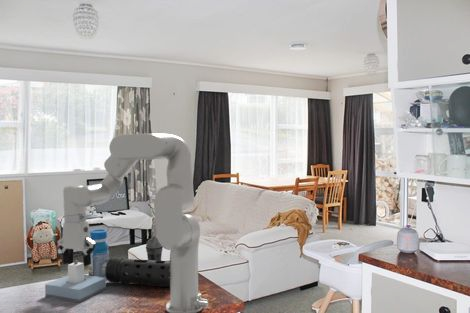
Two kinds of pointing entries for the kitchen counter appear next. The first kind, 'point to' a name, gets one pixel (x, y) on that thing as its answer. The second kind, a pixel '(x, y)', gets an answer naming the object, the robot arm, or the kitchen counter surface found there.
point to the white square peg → (75, 272)
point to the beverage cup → (154, 249)
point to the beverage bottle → (98, 252)
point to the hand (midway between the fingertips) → (77, 264)
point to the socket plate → (75, 288)
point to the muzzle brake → (137, 271)
